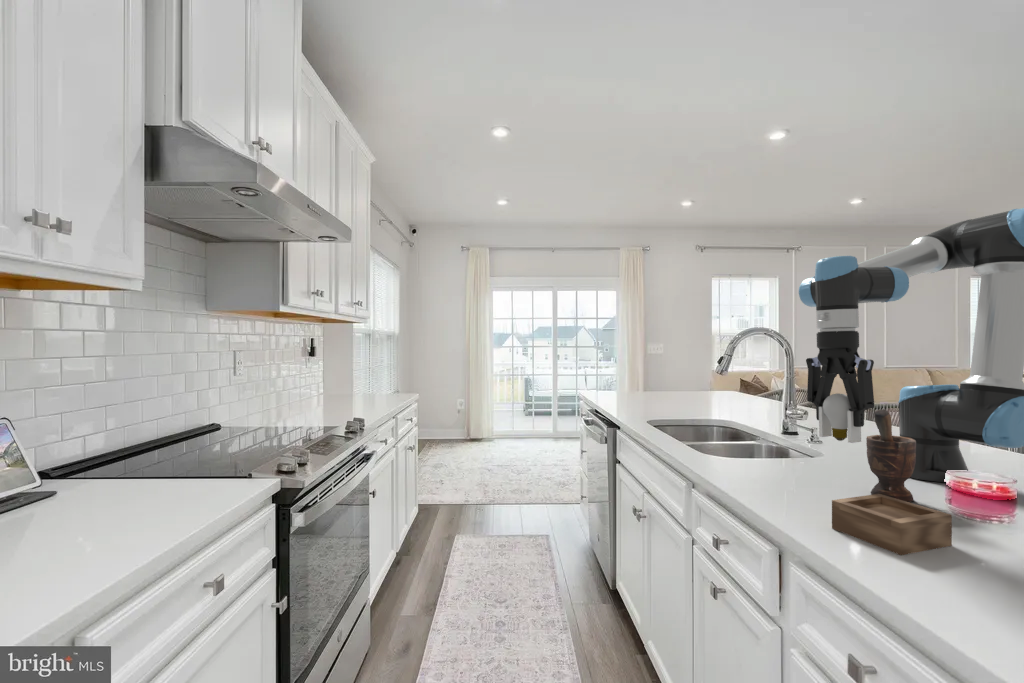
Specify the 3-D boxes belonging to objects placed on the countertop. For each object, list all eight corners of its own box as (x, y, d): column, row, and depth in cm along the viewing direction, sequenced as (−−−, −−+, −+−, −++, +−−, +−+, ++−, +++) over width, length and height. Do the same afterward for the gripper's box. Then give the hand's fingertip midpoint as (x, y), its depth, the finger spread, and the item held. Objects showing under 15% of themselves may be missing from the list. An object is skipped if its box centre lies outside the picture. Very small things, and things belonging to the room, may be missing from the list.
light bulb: (851, 438, 106) (850, 392, 106) (861, 444, 100) (859, 395, 100) (820, 437, 108) (819, 391, 108) (827, 442, 102) (826, 395, 102)
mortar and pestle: (923, 511, 99) (923, 412, 99) (870, 504, 103) (870, 409, 103) (912, 495, 109) (911, 405, 109) (864, 489, 113) (863, 403, 113)
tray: (879, 520, 94) (879, 493, 94) (951, 545, 82) (951, 514, 82) (831, 528, 90) (831, 500, 90) (900, 555, 79) (900, 523, 79)
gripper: (786, 331, 112) (788, 432, 112) (868, 329, 94) (871, 449, 94) (811, 330, 114) (813, 430, 114) (896, 328, 96) (899, 446, 96)
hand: (839, 438), depth 104 cm, fingers closed on light bulb, 6 cm apart
